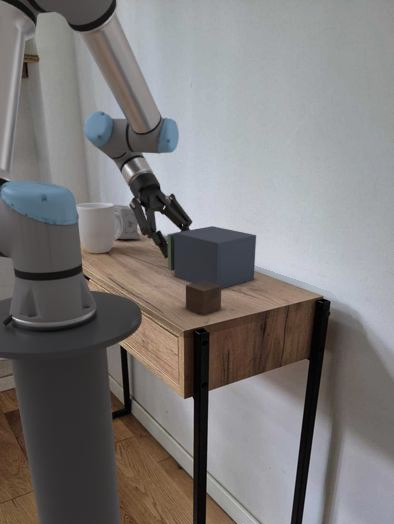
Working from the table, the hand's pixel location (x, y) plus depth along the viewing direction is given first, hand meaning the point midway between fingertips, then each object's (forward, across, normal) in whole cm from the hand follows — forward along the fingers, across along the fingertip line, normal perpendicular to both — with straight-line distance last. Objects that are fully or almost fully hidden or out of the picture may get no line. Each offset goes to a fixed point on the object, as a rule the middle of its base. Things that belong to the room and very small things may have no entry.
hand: (181, 252), depth 123 cm
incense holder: (-25, -10, -32) cm, 42 cm away
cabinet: (+11, 0, +5) cm, 12 cm away
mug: (-19, +5, -25) cm, 31 cm away
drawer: (+6, 0, +2) cm, 6 cm away
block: (+21, +17, +16) cm, 31 cm away
